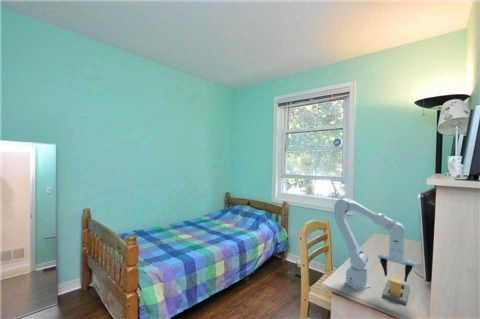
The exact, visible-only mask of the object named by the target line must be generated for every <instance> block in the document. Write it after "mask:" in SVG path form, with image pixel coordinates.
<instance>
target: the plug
mask: <svg viewBox="0 0 480 319" xmlns="http://www.w3.org/2000/svg"><path fill="white" fill-rule="evenodd" d="M389 280H390V292H389V294H390V295H393V296H396V297H399V298H402V296H401V289H402V288H401V283H402V280H401V279H398V278H395V277H392V276H391V277H390V279H389Z"/></svg>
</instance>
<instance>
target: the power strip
mask: <svg viewBox="0 0 480 319" xmlns="http://www.w3.org/2000/svg"><path fill="white" fill-rule="evenodd" d="M409 292H410V285H408V284H405V283H402V282H401V298H399V297H396V296H393V295H390V279H387V282H386V284H385V287H384V289H383V291H382V295H381V297H382V298H384V299H388V300H390V301H393V302H396V303H399V304H401V305H405V306H407V303H408V298H409V294H410V293H409Z"/></svg>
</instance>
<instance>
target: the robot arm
mask: <svg viewBox="0 0 480 319" xmlns="http://www.w3.org/2000/svg"><path fill="white" fill-rule="evenodd" d="M333 208H334V209H333V210H334V211H333V219H334V220H335V223H336V225H337V227H338V229H339V231H340V234H341V236H342V238H343V240H344V242H345V245H346V247H347V249H348V256H349V262H350V267H349V268H347V269H346V272H345V281H344V283H345V284H346V285H348V286H350V287H351V288H353V289H355V290H356V291H360V290H365V289H367V288H371V285H370V284H369V283H367V280H368V267H367V263H368V262H369V261H368V260H369V257H368V255H367V254H366V253H365V252H364V251H363V249H362V248H361V247H360V246H359V243H358V241H357V240H356V237H355V236H354V233H353V231H352V229H351V227H350V225H349V223H348V221H347V219H346V215H347V213H348V211H349V212H351V211H352V212H358V213H359V214H361V215H363V216H365V217H367V218H369V219H370V220H372V222H373V224H375V225H376V226H378V227H380V228H382V229H383V230H385V231H388V233H389V240H388V242H389V245H388V254H382V253H378V254H377V259H379V263H380V265H381V268H382V269H383V273H384V277H387V276H388V261H389V262H392V263H396V264H401V265H404V282H405V283H406V282H408V281H407V280H408V276H409V275H410V273H411V272H412V270H413V269H416V267H417V265H416V263H417V262H415V261H412V260H409V259H405V258H404V254H405V253H404V252H405V236H404V235H405V231H406V229H405V226H404V224H402V223H401V221H396V220H395V219H392V218H389V217H388V216H387V215H386V214H385V213H380V212H379V213H378V212H377V213H375V212H374V211H372V210H370V209H369V208H366V207H365V206H363V205H362V204H360V203H358V202H357V201H356V200H353V199H351V198H349V197H343V198H341V199H337V200H336V201H335V203H334V205H333Z"/></svg>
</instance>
